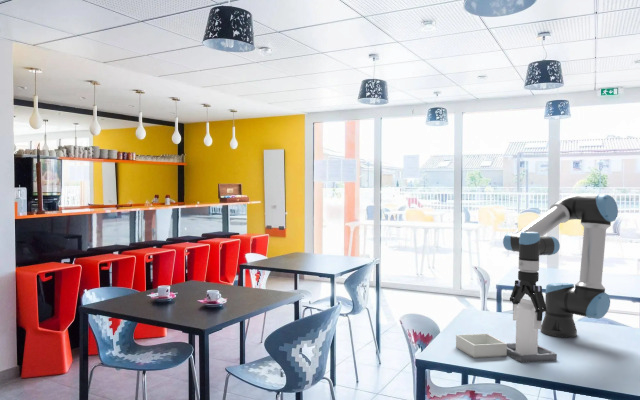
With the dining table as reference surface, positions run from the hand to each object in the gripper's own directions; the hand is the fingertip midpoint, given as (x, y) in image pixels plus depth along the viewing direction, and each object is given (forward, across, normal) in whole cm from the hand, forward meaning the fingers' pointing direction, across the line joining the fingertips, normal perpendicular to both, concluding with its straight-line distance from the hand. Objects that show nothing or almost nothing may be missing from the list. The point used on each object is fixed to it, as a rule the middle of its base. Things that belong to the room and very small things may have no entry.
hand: (526, 324), depth 200 cm
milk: (+12, 0, 0) cm, 12 cm away
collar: (+12, 0, 0) cm, 12 cm away
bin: (+12, -7, -16) cm, 21 cm away
